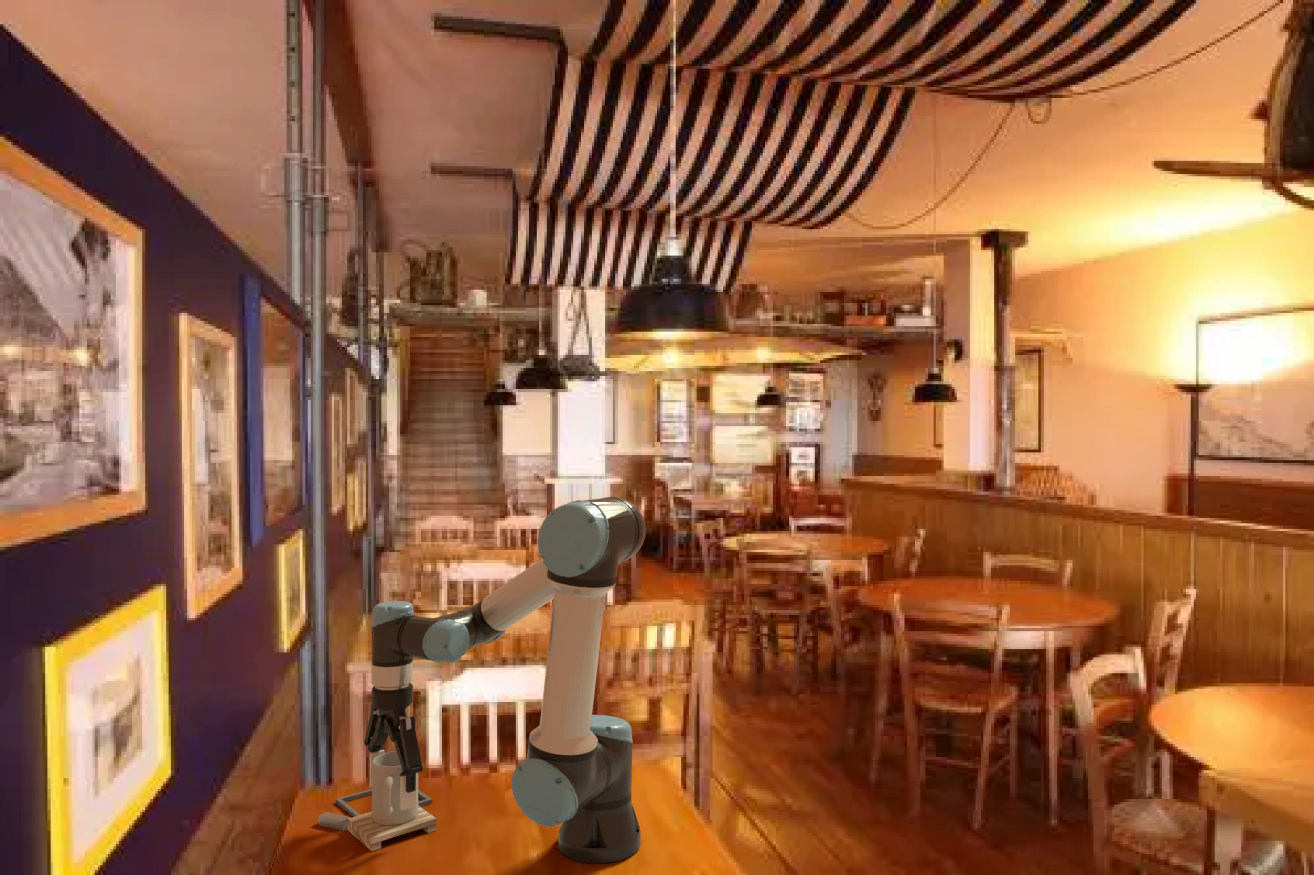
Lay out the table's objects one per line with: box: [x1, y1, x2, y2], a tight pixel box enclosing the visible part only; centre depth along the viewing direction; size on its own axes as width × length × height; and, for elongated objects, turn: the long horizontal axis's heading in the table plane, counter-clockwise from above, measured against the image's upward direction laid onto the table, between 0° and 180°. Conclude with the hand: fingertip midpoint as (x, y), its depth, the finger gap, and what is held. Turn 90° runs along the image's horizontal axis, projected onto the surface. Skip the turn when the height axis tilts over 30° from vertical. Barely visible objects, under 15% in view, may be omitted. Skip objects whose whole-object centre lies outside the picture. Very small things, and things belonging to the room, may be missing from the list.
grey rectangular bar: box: [317, 811, 352, 831], centre depth 170 cm, size 6×2×2 cm, turn 68°
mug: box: [371, 750, 419, 826], centre depth 167 cm, size 12×8×11 cm
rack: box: [346, 806, 438, 852], centre depth 168 cm, size 11×13×2 cm
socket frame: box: [335, 788, 433, 817], centre depth 180 cm, size 13×15×1 cm
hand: (392, 796), depth 168 cm, fingers open, 13 cm apart
